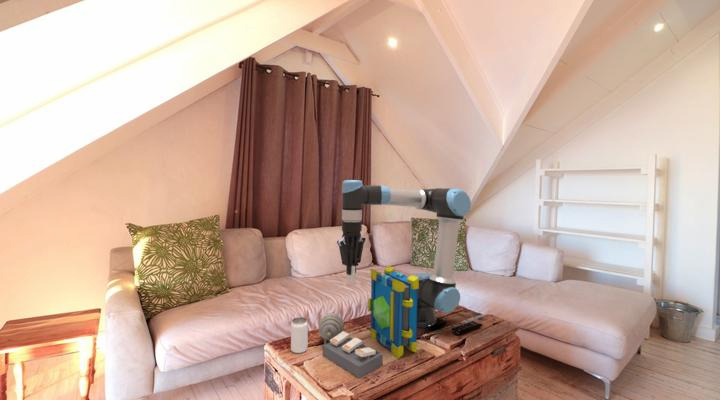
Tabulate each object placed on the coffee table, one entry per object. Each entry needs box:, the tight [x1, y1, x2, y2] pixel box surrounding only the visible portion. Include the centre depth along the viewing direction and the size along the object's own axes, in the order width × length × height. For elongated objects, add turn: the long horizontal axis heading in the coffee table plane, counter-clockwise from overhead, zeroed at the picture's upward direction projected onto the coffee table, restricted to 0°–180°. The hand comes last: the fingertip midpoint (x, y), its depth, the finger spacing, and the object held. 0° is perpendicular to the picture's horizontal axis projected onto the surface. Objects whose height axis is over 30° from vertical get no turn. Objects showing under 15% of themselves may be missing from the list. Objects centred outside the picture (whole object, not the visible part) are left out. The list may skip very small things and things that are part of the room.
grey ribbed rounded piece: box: [318, 312, 345, 345], centre depth 136 cm, size 11×17×11 cm, turn 3°
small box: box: [355, 346, 377, 357], centre depth 117 cm, size 7×4×2 cm, turn 135°
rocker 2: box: [342, 337, 363, 353], centre depth 122 cm, size 7×4×2 cm, turn 134°
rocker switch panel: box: [322, 337, 384, 379], centre depth 122 cm, size 12×20×5 cm, turn 44°
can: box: [290, 316, 309, 354], centre depth 129 cm, size 6×6×12 cm
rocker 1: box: [329, 330, 351, 346], centre depth 127 cm, size 7×4×2 cm, turn 134°
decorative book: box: [367, 265, 419, 360], centre depth 133 cm, size 14×23×30 cm, turn 29°
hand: (351, 282), depth 124 cm, fingers closed
